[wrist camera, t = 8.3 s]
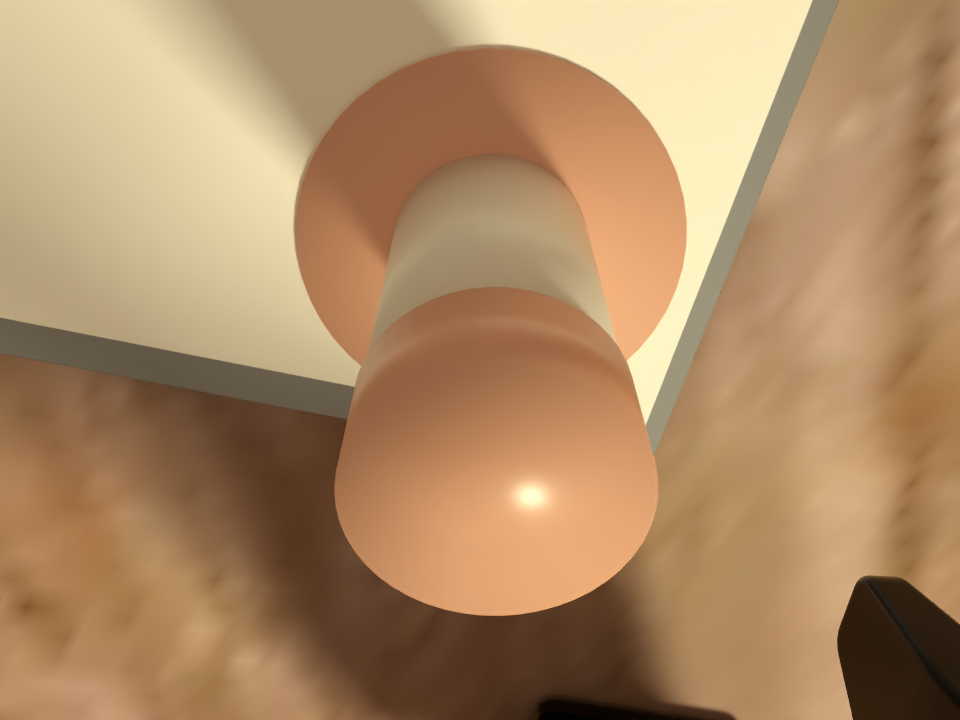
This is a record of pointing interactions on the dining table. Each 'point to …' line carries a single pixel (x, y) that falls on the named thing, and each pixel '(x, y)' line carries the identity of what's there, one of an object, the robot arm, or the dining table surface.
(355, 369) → the colouring board
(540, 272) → the marker
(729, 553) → the dining table surface
